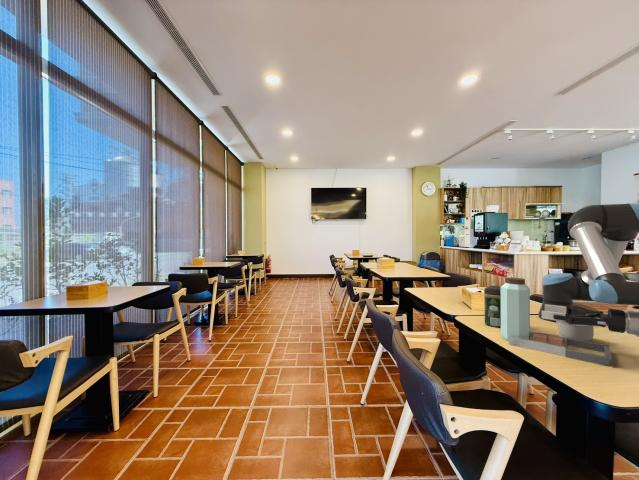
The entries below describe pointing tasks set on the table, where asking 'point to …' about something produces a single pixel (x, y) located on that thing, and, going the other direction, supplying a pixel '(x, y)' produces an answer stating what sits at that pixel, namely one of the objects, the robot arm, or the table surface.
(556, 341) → the block
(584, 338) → the teacup
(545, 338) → the block
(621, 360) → the table surface
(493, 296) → the coffee jar
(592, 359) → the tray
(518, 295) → the water bottle
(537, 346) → the slot rails
